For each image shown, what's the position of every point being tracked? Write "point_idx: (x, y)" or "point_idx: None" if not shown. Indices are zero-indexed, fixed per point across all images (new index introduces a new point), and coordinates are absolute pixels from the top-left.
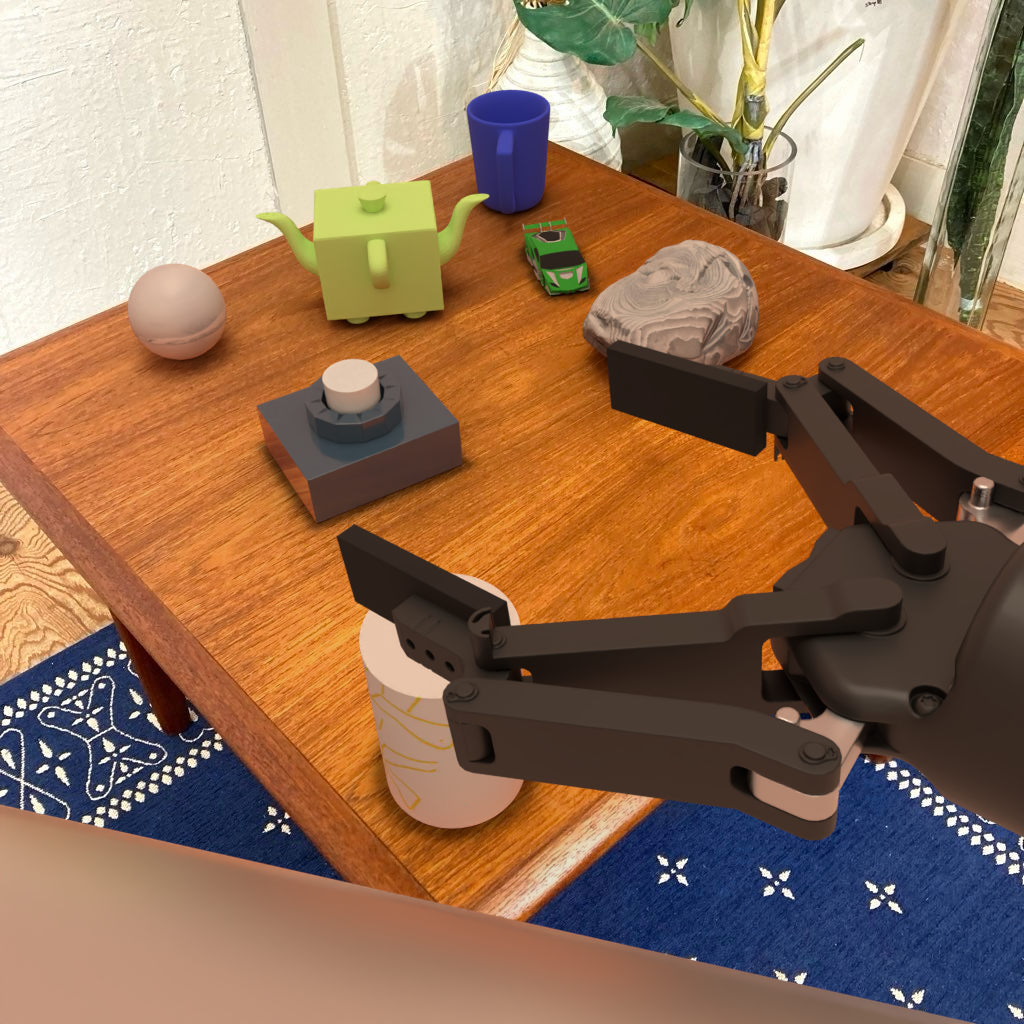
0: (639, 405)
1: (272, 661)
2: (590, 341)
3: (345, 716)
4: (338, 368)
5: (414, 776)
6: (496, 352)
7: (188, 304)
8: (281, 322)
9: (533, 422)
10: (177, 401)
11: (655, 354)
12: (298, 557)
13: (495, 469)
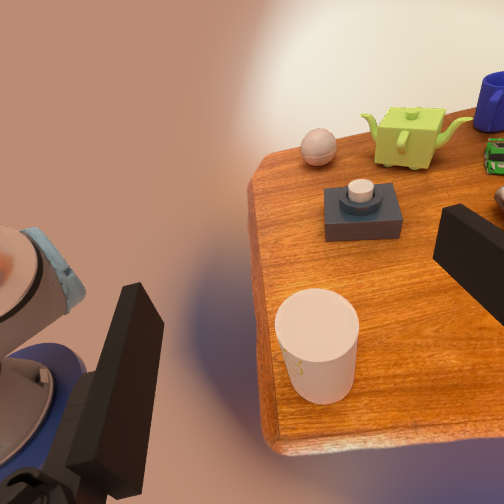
0: (455, 267)
1: (279, 288)
2: (497, 200)
3: None
4: (357, 181)
5: (288, 371)
6: (443, 193)
7: (320, 144)
8: (357, 160)
9: None
10: (305, 180)
11: (491, 229)
12: (311, 252)
13: (413, 245)
